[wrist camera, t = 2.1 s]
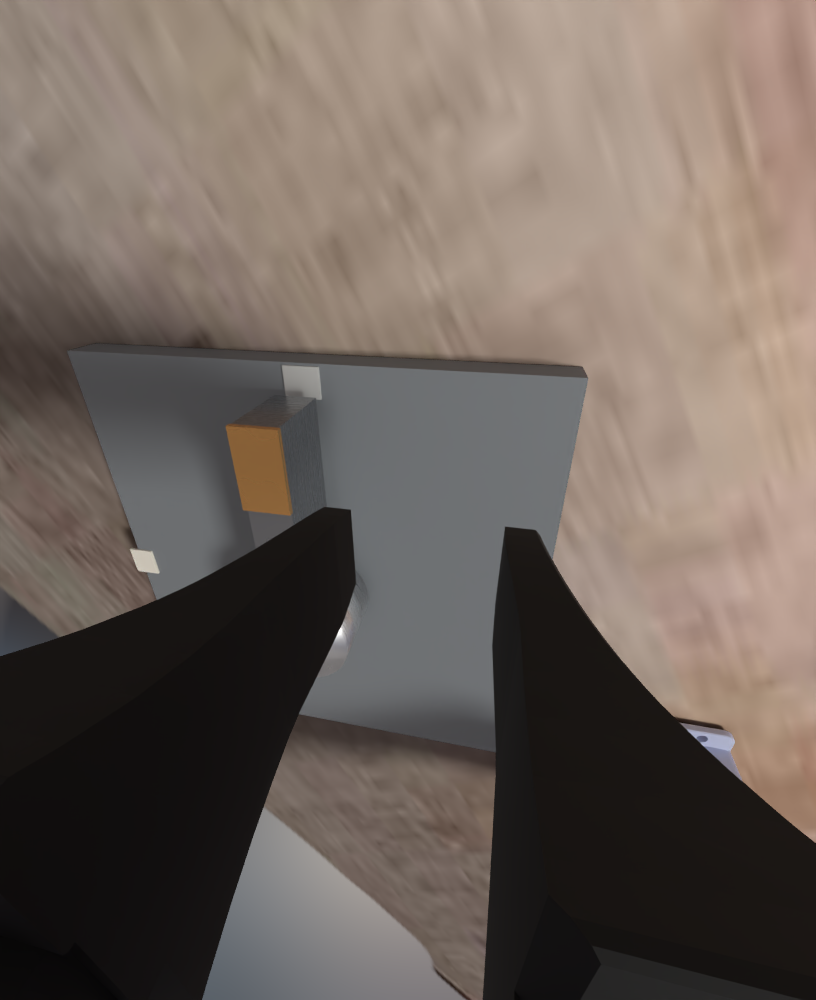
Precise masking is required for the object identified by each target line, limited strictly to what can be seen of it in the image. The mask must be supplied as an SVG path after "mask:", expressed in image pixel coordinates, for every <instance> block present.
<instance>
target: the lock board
mask: <svg viewBox="0 0 816 1000" xmlns="http://www.w3.org/2000/svg"><path fill="white" fill-rule="evenodd" d="M67 353H68V355H69V358H70V361H71V364H72V367H73V369H74V372H75V375H76V378H77V380H78V383H79V386H80V389H81V391H82V394H83V397H84V400H85V403H86V405H87V408H88V411H89V414H90V416H91V419H92V422H93V425H94V428H95V430H96V433H97V436H98V439H99V441H100V444H101V447H102V450H103V452H104V455H105V458H106V461H107V464H108V466H109V469H110V472H111V475H112V477H113V480H114V483H115V486H116V488H117V491H118V494H119V497H120V500H121V502H122V505H123V508H124V511H125V513H126V516H127V519H128V522H129V524H130V527H131V530H132V533H133V536H134V538H135V541H136V544H137V547H138V549H136V548H131V549H130V550H131V553H132V556H133V558H134V561H135V564H136V566H137V569H138V571H143V572H147V574H148V577H149V580H150V583H151V585H152V588H153V591H154V594H155V597H156V599H157V600H158V599H160V598H162V597H165V596H167V595H169V594H171V593H173V592H175V591H178V590H180V589H182V588H184V587H186V586H188V585H190V584H192V583H194V582H196V581H198V580H200V579H202V578H204V577H206V576H208V575H210V574H212V573H213V572H215V571H217V570H219V569H220V568H222V567H224V566H226V565H228V564H229V563H231V562H233V561H235V560H237V559H238V558H240V557H242V556H244V555H245V554H247V553H249V552H251V551H253V550H254V549H256V547H255V542H254V538H253V533H252V528H251V523H250V518H249V513H248V511H245V510H243V508H242V503H241V498H240V493H239V489H238V484H237V479H236V474H235V469H234V465H233V460H232V455H231V450H230V446H229V441H228V436H227V431H226V425H228V424H231V423H232V422H234V421H235V420H237V419H238V418H240V417H242V416H243V415H245V414H246V413H248V412H249V411H251V410H252V409H254V408H255V407H257V406H258V405H260V404H261V403H263V402H264V401H266V400H267V399H269V398H270V397H272V396H273V395H281V396H296V397H312V398H316V405H317V415H318V425H319V434H320V444H321V454H322V464H323V474H324V484H325V493H326V503H327V507H332V508H341V509H350V510H351V517H352V531H353V545H354V559H355V570H356V571H357V572H358V573H359V575H360V576H361V577H362V579H363V580H364V582H365V584H366V587H367V590H368V596H369V599H368V605H367V608H366V610H365V613H364V615H363V618H362V620H361V623H360V625H359V628H358V630H357V633H356V635H355V638H354V640H353V643H352V645H351V648H350V650H349V653H348V655H347V658H346V660H345V662H344V664H343V666H342V667H341V668H340V669H339V670H337V671H336V672H335V673H332V674H330V675H327V676H323V677H317V678H316V680H315V682H314V684H313V686H312V688H311V690H310V692H309V694H308V696H307V698H306V700H305V702H304V704H303V706H302V708H301V710H300V712H299V714H301V715H306V716H311V717H316V718H321V719H326V720H332V721H337V722H342V723H347V724H352V725H357V726H362V727H368V728H373V729H378V730H383V731H388V732H393V733H399V734H404V735H409V736H414V737H419V738H424V739H429V740H435V741H440V742H445V743H450V744H455V745H460V746H465V747H471V748H476V749H481V750H486V751H491V752H496V740H495V713H494V685H493V656H492V641H493V627H494V613H495V601H496V593H497V585H498V577H499V570H500V562H501V554H502V546H503V538H504V531H505V527H514V528H523V529H532V530H536V531H537V532H538V533H539V535H540V536H541V538H542V541H543V543H544V545H545V547H546V549H547V551H548V553H549V555H550V556H551V558H552V559H553V554H554V549H555V544H556V539H557V533H558V528H559V523H560V518H561V513H562V508H563V503H564V498H565V493H566V488H567V483H568V478H569V473H570V468H571V463H572V458H573V453H574V448H575V443H576V437H577V432H578V427H579V422H580V417H581V412H582V407H583V402H584V397H585V392H586V387H587V382H588V377H587V375H586V373H585V371H584V369H583V367H574V366H554V365H533V364H513V363H492V362H472V361H451V360H430V359H410V358H389V357H369V356H348V355H328V354H307V353H287V352H266V351H246V350H225V349H205V348H184V347H163V346H143V345H122V344H102V343H95V344H91V345H87V346H83V347H79V348H75V349H71V350H67Z"/></svg>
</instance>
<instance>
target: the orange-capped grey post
mask: <svg viewBox="0 0 816 1000" xmlns="http://www.w3.org/2000/svg"><path fill="white" fill-rule="evenodd" d="M226 431H227V436H228V441H229V446H230V450H231V455H232V460H233V465H234V469H235V474H236V479H237V484H238V489H239V493H240V498H241V503H242V508H243V510H245V511H248V513H249V518H250V523H251V528H252V533H253V538H254V542H255V547H256V548H257V547H259V546H261V545H262V544H264V543H266V542H267V541H269V540H270V539H272V538H274V537H275V536H277V535H279V534H280V533H282V532H283V531H285V530H287V529H288V528H290V527H291V526H293V525H295V524H296V523H298V522H299V521H301V520H303V519H304V518H306V517H307V516H309V515H311V514H312V513H314V512H316V511H318V510H319V509H321V508H323V507H327V503H326V493H325V484H324V474H323V464H322V454H321V444H320V434H319V425H318V415H317V405H316V398H312V397H296V396H281V395H273V396H272V397H270V398H269V399H267V400H266V401H264V402H263V403H261V404H260V405H258V406H257V407H255V408H254V409H252V410H251V411H249V412H248V413H246V414H245V415H243V416H242V417H240V418H238V419H237V420H235V421H234V422H232V423H231V424H228V425H226ZM355 573H356V585H355V588H354V591H353V595H352V598H351V601H350V604H349V607H348V610H347V613H346V616H345V619H344V621H343V624H342V626H341V628H340V630H339V632H338V634H337V636H336V639H335V641H334V643H333V645H332V647H331V649H330V651H329V653H328V655H327V657H326V659H325V661H324V663H323V665H322V667H321V669H320V672H319V674H318V676H317V677H323V676H327V675H330V674H332V673H335V672H336V671H337V670H339V669H340V668H341V667H342V666H343V664H344V662H345V660H346V658H347V655H348V653H349V650H350V648H351V645H352V643H353V640H354V638H355V635H356V633H357V630H358V628H359V625H360V623H361V620H362V618H363V615H364V613H365V610H366V608H367V605H368V599H369V596H368V590H367V587H366V584H365V582H364V580H363V579H362V577H361V576H360V575H359V573H358V572H357V571H356V570H355Z"/></svg>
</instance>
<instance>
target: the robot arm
mask: <svg viewBox="0 0 816 1000" xmlns="http://www.w3.org/2000/svg"><path fill="white" fill-rule="evenodd" d="M355 585H356V573H355V559H354V545H353V531H352V517H351V510H350V509H341V508H332V507H323V508H321V509H319V510H318V511H316V512H314V513H312V514H311V515H309V516H307V517H306V518H304V519H303V520H301V521H299V522H298V523H296V524H295V525H293V526H291V527H290V528H288V529H287V530H285V531H283V532H282V533H280V534H279V535H277V536H275V537H274V538H272V539H270V540H269V541H267V542H266V543H264V544H262V545H261V546H259V547H257V548H256V549H254V550H253V551H251V552H249V553H247V554H245V555H244V556H242V557H240V558H238V559H237V560H235V561H233V562H231V563H229V564H228V565H226V566H224V567H222V568H220V569H219V570H217V571H215V572H213V573H212V574H210V575H208V576H206V577H204V578H202V579H200V580H198V581H196V582H194V583H192V584H190V585H188V586H186V587H184V588H182V589H180V590H178V591H175V592H173V593H171V594H169V595H167V596H165V597H162V598H160V599H158V600H156V601H154V602H151V603H149V604H147V605H144V606H142V607H139V608H137V609H134V610H132V611H129V612H127V613H124V614H121V615H119V616H116V617H114V618H111V619H109V620H106V621H103V622H101V623H98V624H96V625H93V626H91V627H88V628H85V629H83V630H80V631H77V632H74V633H71V634H68V635H65V636H62V637H59V638H57V639H54V640H51V641H48V642H45V643H42V644H39V645H35V646H32V647H29V648H26V649H23V650H19V651H16V652H13V653H10V654H6V655H3V656H0V1000H202V998H203V994H204V991H205V987H206V984H207V980H208V977H209V974H210V971H211V967H212V964H213V961H214V957H215V954H216V951H217V948H218V944H219V941H220V938H221V935H222V931H223V928H224V924H225V921H226V918H227V915H228V912H229V908H230V905H231V902H232V899H233V896H234V893H235V890H236V887H237V883H238V881H239V877H240V875H241V872H242V869H243V865H244V862H245V859H246V856H247V853H248V850H249V847H250V844H251V841H252V838H253V835H254V832H255V830H256V827H257V824H258V821H259V818H260V815H261V812H262V810H263V807H264V804H265V801H266V798H267V795H268V793H269V790H270V787H271V784H272V781H273V779H274V776H275V773H276V770H277V768H278V765H279V762H280V760H281V757H282V754H283V752H284V749H285V746H286V744H287V741H288V738H289V736H290V733H291V731H292V728H293V726H294V724H295V722H296V719H297V717H298V715H299V712H300V710H301V708H302V706H303V704H304V702H305V700H306V698H307V696H308V694H309V692H310V690H311V688H312V686H313V684H314V682H315V680H316V678H317V676H318V674H319V672H320V669H321V667H322V665H323V663H324V661H325V659H326V657H327V655H328V653H329V651H330V649H331V647H332V645H333V643H334V641H335V639H336V636H337V634H338V632H339V630H340V628H341V626H342V624H343V621H344V619H345V616H346V613H347V610H348V607H349V604H350V601H351V598H352V595H353V591H354V588H355ZM492 656H493V685H494V713H495V740H496V780H495V799H494V818H493V837H492V854H491V872H490V890H489V907H488V923H487V940H486V956H485V973H484V989H483V1000H816V843H815V842H813V841H812V840H811V839H810V838H808V837H807V836H806V835H805V834H803V833H802V832H801V831H800V830H798V829H797V828H796V827H795V826H793V825H792V824H791V823H790V822H789V821H787V820H786V819H785V818H784V817H783V816H781V815H780V814H779V813H778V812H777V811H776V810H774V809H773V808H772V807H771V806H770V805H769V804H768V803H766V802H765V801H764V800H763V799H762V798H761V797H760V796H758V795H757V794H756V793H755V792H754V791H753V790H752V789H750V788H749V787H748V786H747V785H746V784H745V783H744V782H743V781H742V779H741V777H740V774H739V772H738V769H737V767H736V764H735V762H734V760H733V757H732V755H731V752H730V750H731V749H732V747H733V745H734V744H735V740H734V738H733V736H732V734H731V733H730V732H728V731H725V730H720V729H715V728H709V727H703V726H697V725H691V724H685V723H680V722H678V721H677V720H676V719H675V718H674V717H673V716H672V715H671V714H670V713H669V712H668V711H667V710H666V709H665V708H664V707H663V706H662V705H661V704H660V703H659V702H658V701H657V700H656V699H655V697H654V696H653V695H652V694H651V693H650V692H649V691H648V690H647V689H646V688H645V687H644V686H643V685H642V683H641V682H640V681H639V680H638V679H637V678H636V676H635V675H634V674H633V673H632V672H631V671H630V670H629V668H628V667H627V666H626V665H625V664H624V663H623V661H622V660H621V659H620V658H619V657H618V655H617V654H616V653H615V652H614V650H613V649H612V648H611V647H610V645H609V644H608V643H607V641H606V640H605V639H604V638H603V636H602V635H601V634H600V632H599V631H598V629H597V628H596V627H595V625H594V624H593V623H592V621H591V620H590V619H589V617H588V616H587V614H586V613H585V611H584V610H583V609H582V607H581V606H580V604H579V603H578V601H577V600H576V598H575V596H574V595H573V593H572V592H571V590H570V589H569V587H568V586H567V584H566V582H565V581H564V579H563V578H562V576H561V574H560V573H559V571H558V569H557V567H556V565H555V564H554V562H553V560H552V558H551V556H550V555H549V553H548V551H547V549H546V547H545V545H544V543H543V541H542V538H541V536H540V535H539V533H538V532H537V531H536V530H532V529H523V528H514V527H505V531H504V538H503V546H502V554H501V562H500V570H499V577H498V585H497V593H496V601H495V613H494V627H493V641H492Z"/></svg>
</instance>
